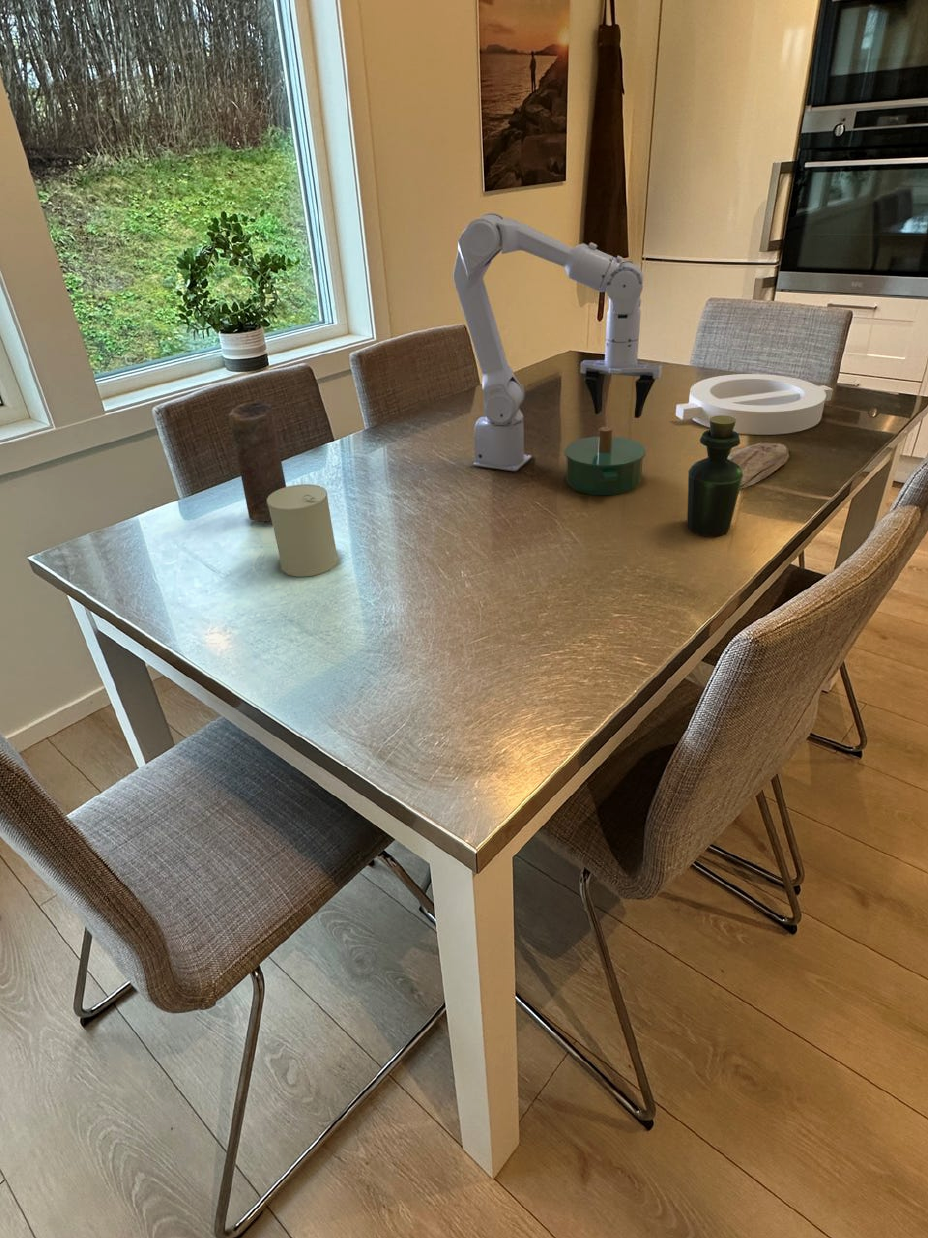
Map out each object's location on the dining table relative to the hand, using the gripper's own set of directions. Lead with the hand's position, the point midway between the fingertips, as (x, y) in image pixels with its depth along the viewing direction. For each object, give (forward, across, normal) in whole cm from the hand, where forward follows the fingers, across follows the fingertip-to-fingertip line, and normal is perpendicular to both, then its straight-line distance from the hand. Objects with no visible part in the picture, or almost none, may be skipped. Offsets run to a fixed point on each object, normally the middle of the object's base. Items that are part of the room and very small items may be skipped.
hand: (617, 414), depth 138 cm
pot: (+10, 0, -7) cm, 13 cm away
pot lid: (+5, 0, -7) cm, 9 cm away
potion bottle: (+11, +22, -20) cm, 32 cm away
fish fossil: (+11, +23, +7) cm, 26 cm away
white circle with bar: (+11, +19, +40) cm, 46 cm away
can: (+11, -33, -54) cm, 64 cm away
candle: (+11, -50, -43) cm, 67 cm away
